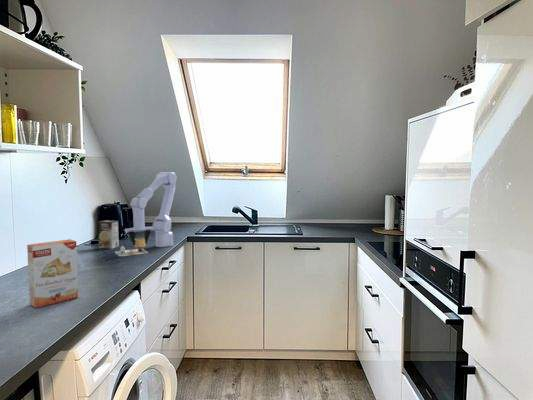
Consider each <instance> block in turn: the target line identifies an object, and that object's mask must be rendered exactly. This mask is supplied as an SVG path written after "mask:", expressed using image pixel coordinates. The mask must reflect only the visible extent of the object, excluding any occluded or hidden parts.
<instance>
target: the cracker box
mask: <svg viewBox="0 0 533 400" xmlns="http://www.w3.org/2000/svg"><path fill="white" fill-rule="evenodd" d="M26 250H27V271H28V272H27V273H28V275H27V276H28V292H29V305H30V306H32V307H33V308H34V309H38V308H41V307H46V306H50V305H53V304H58V302H59V303H62V301H63V302H65V300H67V301H70V300H69V299H71V300H73V299H72V298H75V299H77V298H76V297H78V298H79V283H78V281H79V280H78V255H77V254H78V253H77V252H78V251H77V250H78V247H77V241H76V240H74V239H68V238H67V239H61V240H53V241H48V242H45V241H44V242H37V243H30V244H27V245H26Z"/></svg>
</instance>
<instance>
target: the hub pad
mask: <svg viewBox="0 0 533 400" xmlns="http://www.w3.org/2000/svg"><path fill="white" fill-rule="evenodd" d="M129 253H130V252H127V251H125V253H121V252H117V253H115V252H114V254H115V255H117V256H118V255H125V254H129Z"/></svg>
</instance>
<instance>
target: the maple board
mask: <svg viewBox="0 0 533 400" xmlns="http://www.w3.org/2000/svg"><path fill="white" fill-rule="evenodd" d="M125 251H127V252H130V253H129V254H125V255H117V257H126V256H135V255H143V254H144V255H145V254H149V252H148V251H147V250H145V249H144V247H142V251H141V252H138V248H135V249H134V248H133V249H125ZM117 252H121V250H118V251H117V250H115V251H114V254H115V253H117Z"/></svg>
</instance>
